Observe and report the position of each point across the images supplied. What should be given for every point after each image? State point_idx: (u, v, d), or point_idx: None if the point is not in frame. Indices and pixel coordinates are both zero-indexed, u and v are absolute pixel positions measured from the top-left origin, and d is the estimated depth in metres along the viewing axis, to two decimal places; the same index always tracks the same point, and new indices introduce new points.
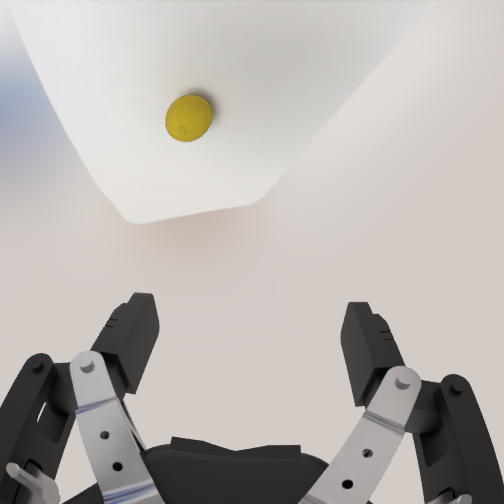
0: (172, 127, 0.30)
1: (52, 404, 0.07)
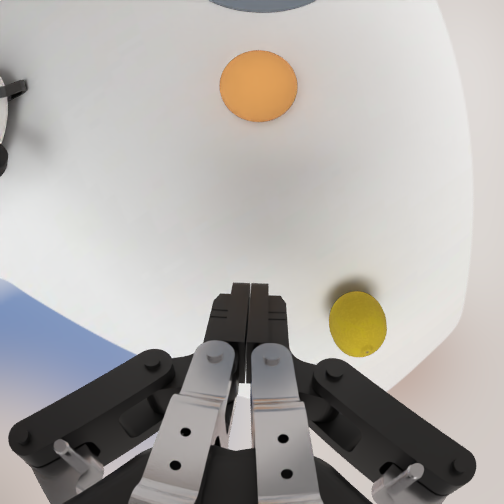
0: (354, 352, 0.24)
1: (151, 402, 0.08)
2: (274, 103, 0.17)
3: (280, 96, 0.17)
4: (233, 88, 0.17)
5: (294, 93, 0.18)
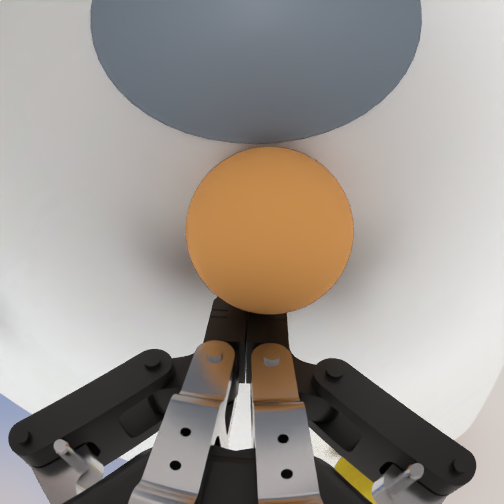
0: None
1: (151, 402, 0.08)
2: (326, 206, 0.07)
3: (334, 194, 0.08)
4: (222, 180, 0.08)
5: None
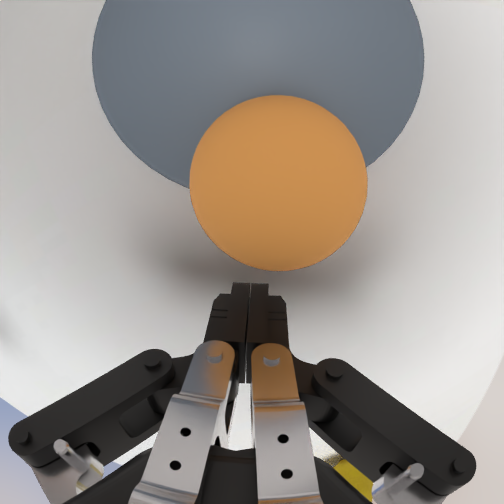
0: None
1: (151, 402, 0.08)
2: None
3: None
4: None
5: None
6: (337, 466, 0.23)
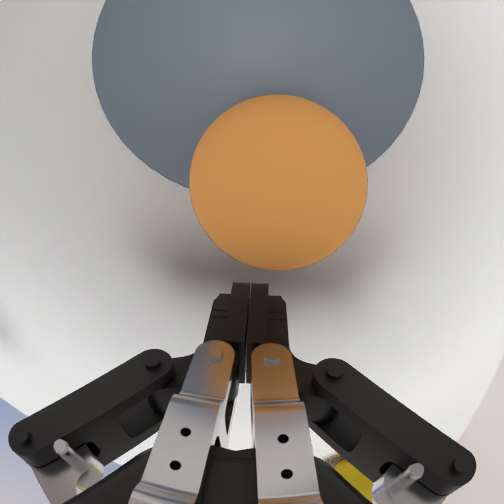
0: None
1: (151, 402, 0.08)
2: None
3: None
4: None
5: None
6: (337, 466, 0.23)
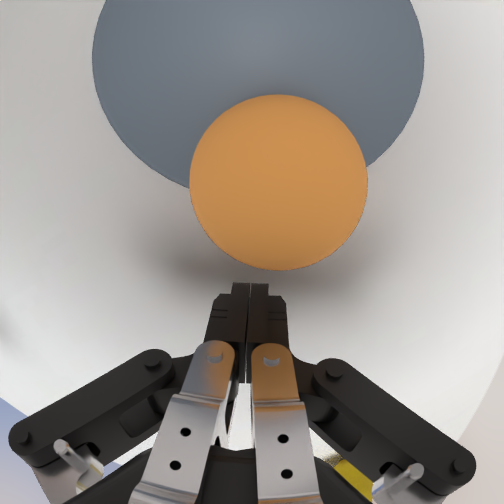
0: None
1: (151, 402, 0.08)
2: None
3: None
4: None
5: None
6: (337, 466, 0.23)
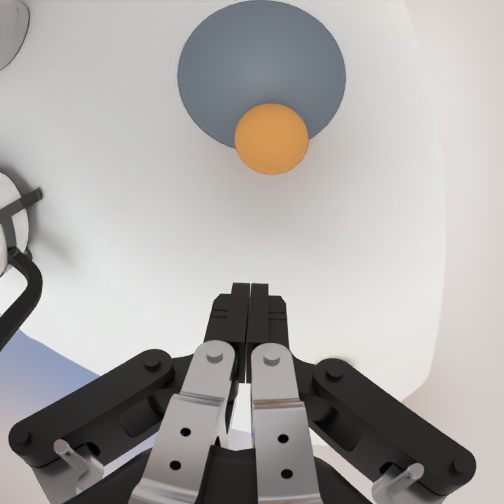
0: None
1: (151, 402, 0.08)
2: None
3: None
4: None
5: None
6: None
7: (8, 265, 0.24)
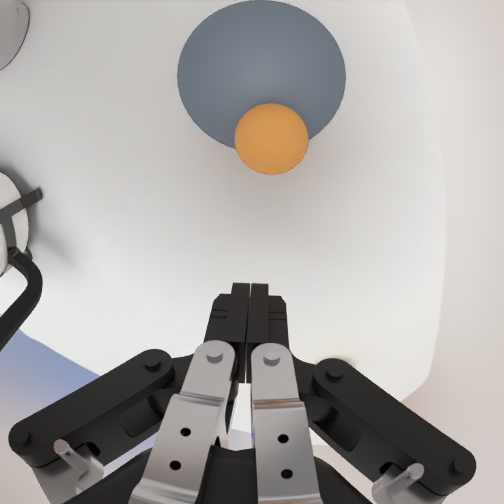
0: None
1: (151, 402, 0.08)
2: None
3: None
4: None
5: None
6: None
7: (8, 265, 0.24)
